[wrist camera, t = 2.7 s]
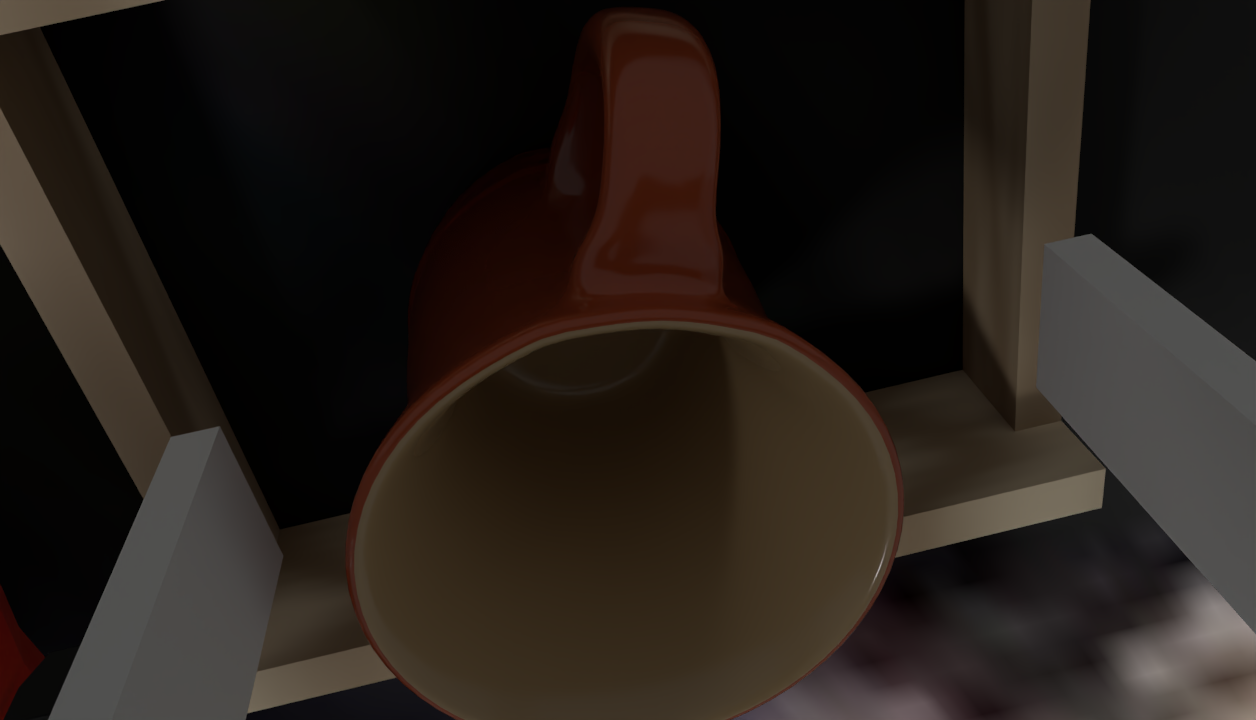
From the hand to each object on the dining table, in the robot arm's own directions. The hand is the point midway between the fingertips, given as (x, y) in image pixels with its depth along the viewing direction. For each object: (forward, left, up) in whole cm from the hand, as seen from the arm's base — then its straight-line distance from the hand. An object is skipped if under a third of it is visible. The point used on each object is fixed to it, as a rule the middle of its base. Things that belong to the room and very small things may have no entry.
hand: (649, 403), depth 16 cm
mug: (0, 0, -9) cm, 9 cm away
